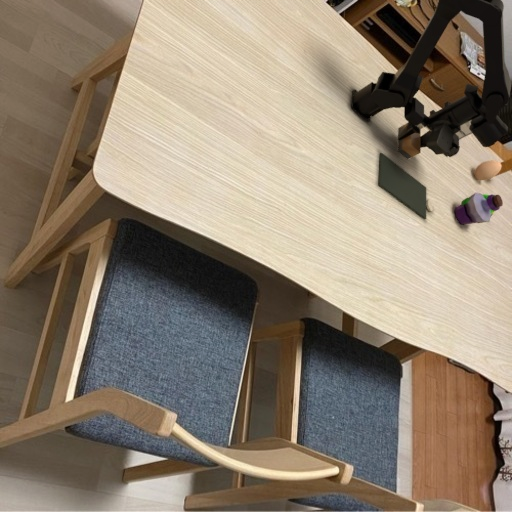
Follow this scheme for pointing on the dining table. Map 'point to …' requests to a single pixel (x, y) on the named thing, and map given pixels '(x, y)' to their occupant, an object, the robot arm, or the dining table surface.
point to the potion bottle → (477, 208)
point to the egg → (487, 170)
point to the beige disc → (429, 205)
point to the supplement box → (505, 166)
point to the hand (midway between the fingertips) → (403, 143)
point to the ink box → (464, 130)
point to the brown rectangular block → (409, 144)
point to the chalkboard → (402, 186)
